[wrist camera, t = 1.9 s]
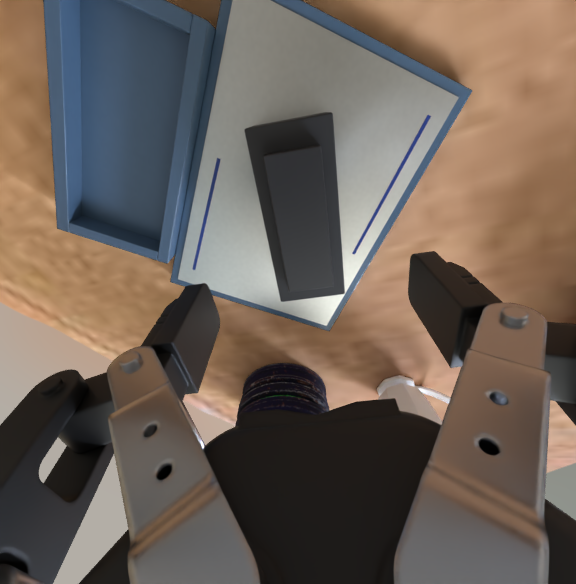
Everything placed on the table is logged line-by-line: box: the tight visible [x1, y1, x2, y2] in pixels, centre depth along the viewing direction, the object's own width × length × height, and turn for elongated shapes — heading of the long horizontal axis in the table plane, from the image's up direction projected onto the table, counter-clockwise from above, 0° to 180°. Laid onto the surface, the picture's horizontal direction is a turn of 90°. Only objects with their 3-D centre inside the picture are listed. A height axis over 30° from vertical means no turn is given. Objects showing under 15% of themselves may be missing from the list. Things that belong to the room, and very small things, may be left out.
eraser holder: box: [43, 0, 216, 264], centre depth 18 cm, size 15×8×3 cm, turn 159°
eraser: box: [244, 112, 345, 302], centre depth 19 cm, size 11×5×5 cm, turn 9°
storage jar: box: [235, 363, 329, 427], centre depth 27 cm, size 10×10×15 cm
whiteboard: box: [170, 0, 472, 331], centre depth 21 cm, size 20×15×1 cm
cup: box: [377, 375, 451, 425], centre depth 29 cm, size 7×10×8 cm
